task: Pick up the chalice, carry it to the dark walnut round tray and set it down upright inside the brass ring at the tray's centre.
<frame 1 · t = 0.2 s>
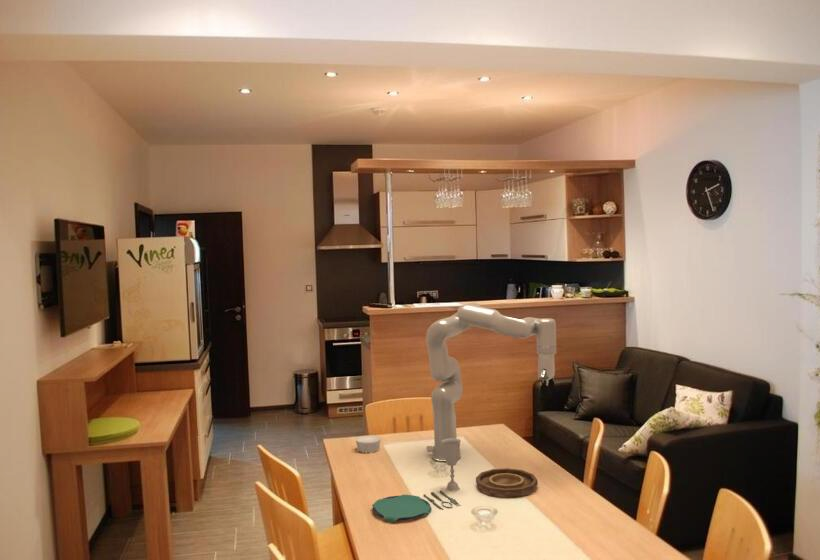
hand: (547, 392, 252), 31 cm above the table, tool pointing down, fingers open, 9 cm apart
cutlery set: (415, 509, 222), on the table
ramekin: (368, 450, 288), on the table
tray: (506, 486, 238), on the table
chalice: (452, 489, 238), on the table
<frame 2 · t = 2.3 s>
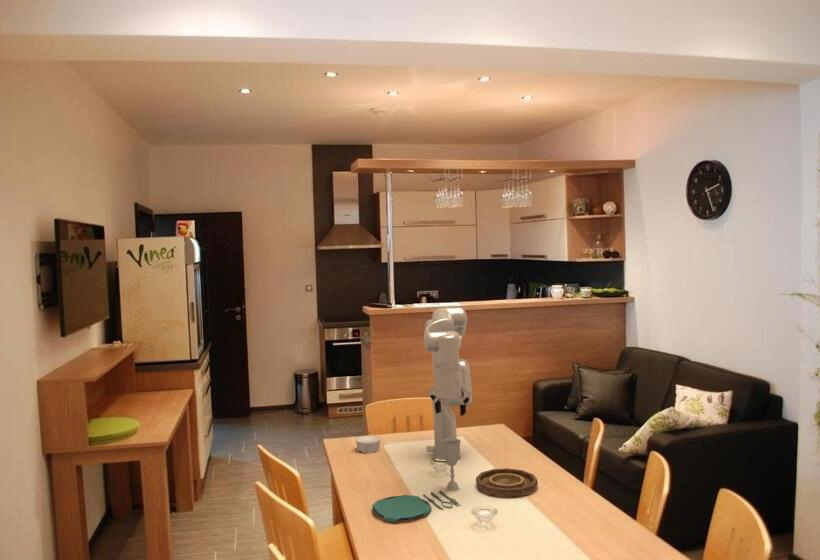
hand: (450, 413, 237), 28 cm above the table, tool pointing down, fingers open, 9 cm apart
nothing on the table moved.
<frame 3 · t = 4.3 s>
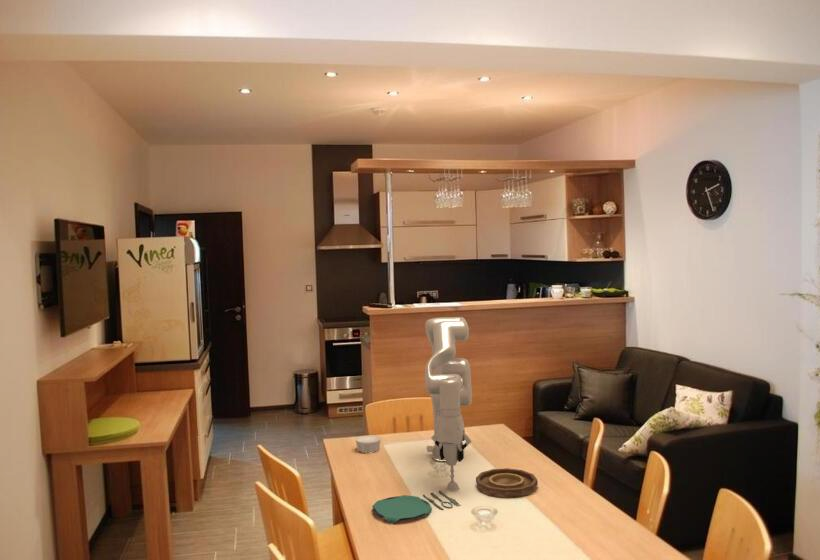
hand: (451, 459, 237), 11 cm above the table, tool pointing down, fingers closed on chalice, 6 cm apart
chalice: (452, 489, 238), on the table, touching gripper
everything else where it was.
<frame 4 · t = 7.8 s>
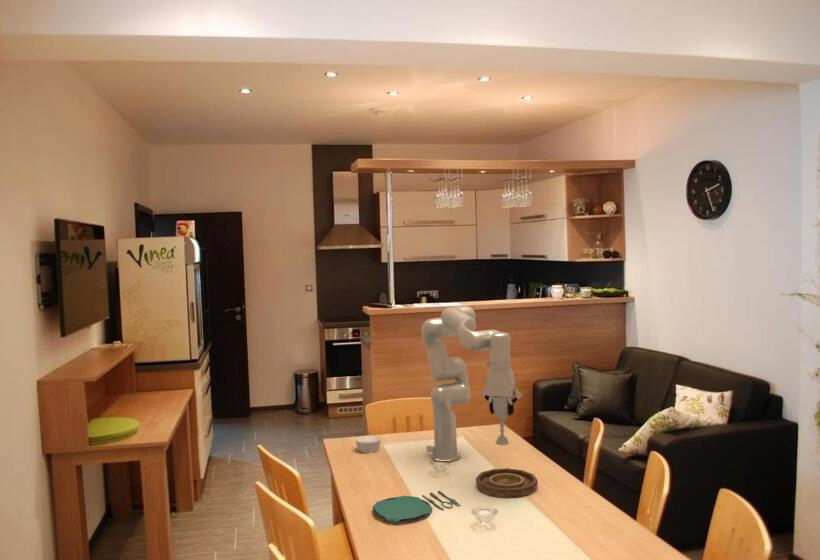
hand: (501, 413, 237), 28 cm above the table, tool pointing down, fingers closed on chalice, 6 cm apart
chalice: (502, 443, 237), point 16 cm above the table, touching gripper
everything else where it was.
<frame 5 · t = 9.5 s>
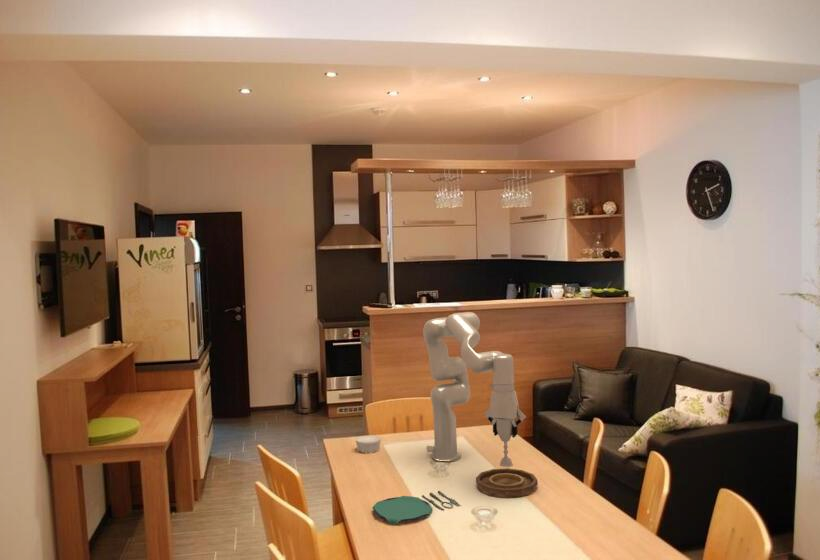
hand: (505, 435, 237), 19 cm above the table, tool pointing down, fingers closed on chalice, 6 cm apart
chalice: (506, 465, 238), point 8 cm above the table, touching gripper
when the fingers open (13 cm above the table, at t = 11.1 s): chalice stays where it is, resting on tray.
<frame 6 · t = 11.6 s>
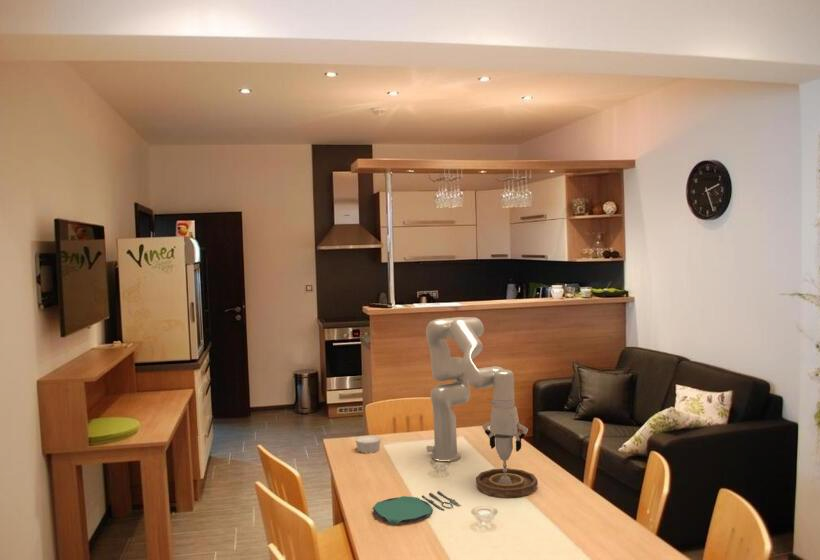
hand: (505, 449, 238), 14 cm above the table, tool pointing down, fingers open, 9 cm apart
chalice: (505, 483, 238), point 1 cm above the table, touching tray
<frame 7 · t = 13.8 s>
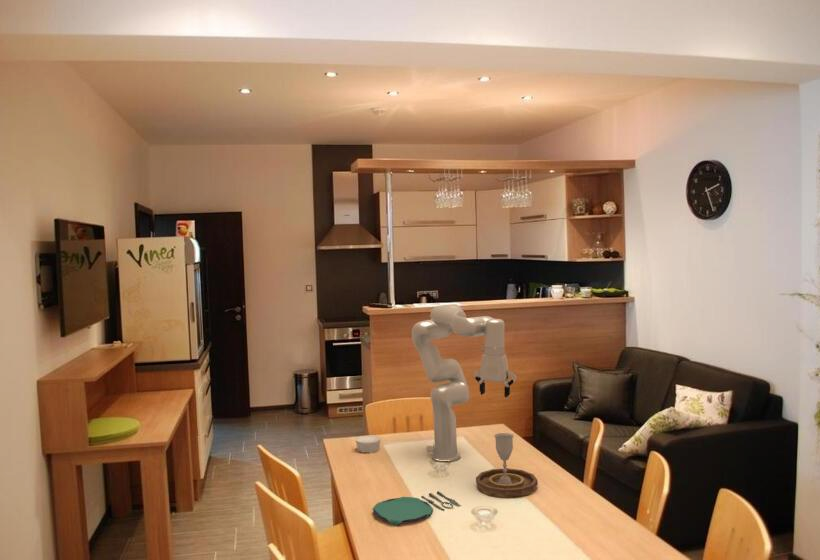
hand: (494, 395, 246), 32 cm above the table, tool pointing down, fingers open, 9 cm apart
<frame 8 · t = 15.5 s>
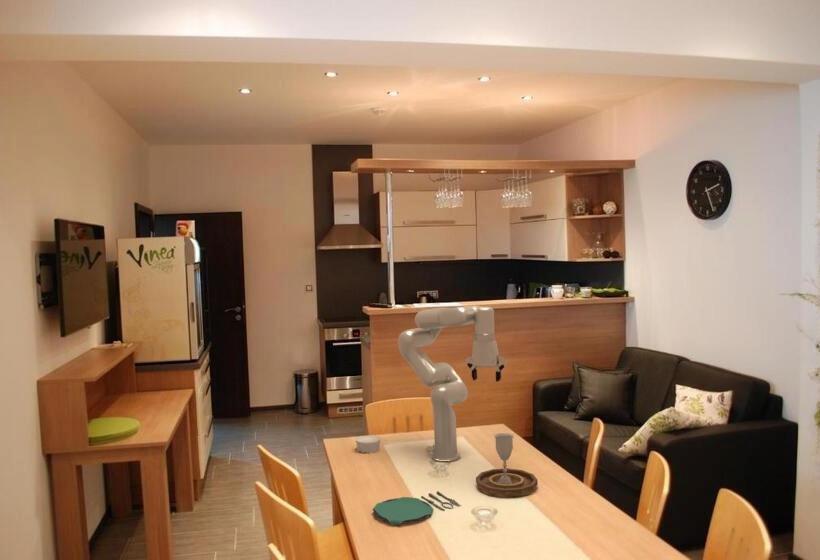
hand: (486, 380, 255), 36 cm above the table, tool pointing down, fingers open, 9 cm apart
at the end: chalice 0.5 cm off-centre on the tray, point 1.0 cm above the tray's base; chalice tilted 0°; the gripper is holding nothing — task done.
